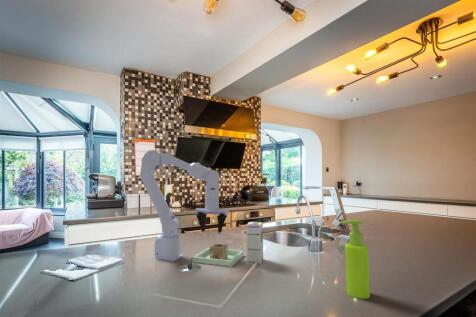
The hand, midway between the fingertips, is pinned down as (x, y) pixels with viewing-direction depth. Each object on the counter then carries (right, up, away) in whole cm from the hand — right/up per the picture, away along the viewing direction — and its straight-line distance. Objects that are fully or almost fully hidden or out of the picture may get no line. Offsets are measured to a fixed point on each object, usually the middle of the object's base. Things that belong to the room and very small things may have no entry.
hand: (211, 231), depth 105 cm
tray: (+4, -9, -6) cm, 12 cm away
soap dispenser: (+44, -7, -35) cm, 57 cm away
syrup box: (+18, -10, -7) cm, 21 cm away
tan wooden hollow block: (+4, -9, -6) cm, 11 cm away
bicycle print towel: (-45, -10, -14) cm, 48 cm away
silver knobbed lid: (-6, -9, -17) cm, 20 cm away
